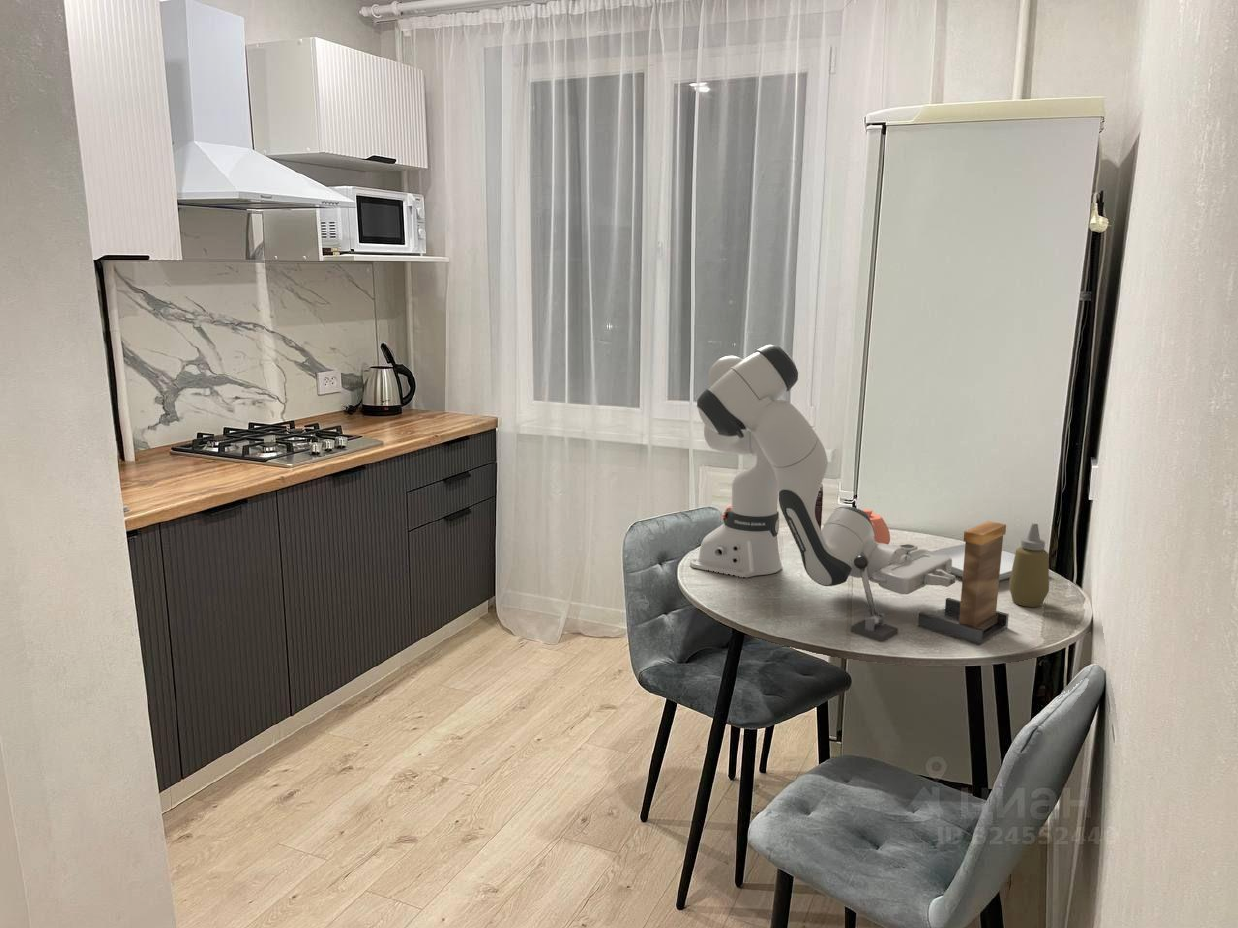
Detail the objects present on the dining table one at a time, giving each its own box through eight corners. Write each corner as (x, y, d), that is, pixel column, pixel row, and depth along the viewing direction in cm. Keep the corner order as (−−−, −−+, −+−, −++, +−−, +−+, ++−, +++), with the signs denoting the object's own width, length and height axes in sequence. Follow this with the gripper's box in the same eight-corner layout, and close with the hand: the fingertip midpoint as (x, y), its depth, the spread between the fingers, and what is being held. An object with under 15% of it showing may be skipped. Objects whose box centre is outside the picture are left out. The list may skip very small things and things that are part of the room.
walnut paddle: (955, 630, 177) (963, 531, 173) (979, 616, 184) (987, 520, 180) (974, 636, 174) (983, 535, 170) (998, 621, 181) (1007, 524, 177)
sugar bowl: (885, 541, 240) (887, 505, 238) (894, 557, 227) (897, 518, 225) (839, 540, 242) (840, 503, 240) (845, 555, 228) (847, 517, 226)
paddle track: (917, 626, 182) (918, 612, 181) (946, 610, 190) (948, 597, 190) (979, 645, 172) (980, 630, 172) (1007, 627, 181) (1008, 613, 180)
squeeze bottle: (1002, 604, 194) (1009, 524, 190) (1013, 594, 200) (1020, 517, 196) (1041, 612, 189) (1049, 531, 185) (1052, 602, 195) (1060, 523, 191)
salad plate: (913, 566, 221) (914, 552, 220) (970, 553, 231) (971, 540, 230) (985, 591, 203) (986, 577, 202) (1044, 576, 213) (1045, 562, 212)
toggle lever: (866, 627, 178) (849, 557, 179) (873, 623, 180) (857, 554, 181) (878, 626, 176) (861, 556, 177) (885, 623, 178) (869, 553, 179)
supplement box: (820, 549, 233) (823, 491, 230) (802, 548, 234) (804, 490, 231) (820, 540, 241) (822, 483, 238) (802, 539, 242) (804, 482, 239)
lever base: (850, 631, 179) (851, 614, 178) (866, 623, 183) (867, 607, 182) (881, 641, 174) (883, 624, 173) (897, 633, 178) (898, 616, 178)
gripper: (866, 562, 184) (928, 579, 174) (914, 542, 198) (975, 555, 188) (864, 591, 185) (926, 609, 176) (913, 569, 199) (973, 584, 190)
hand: (952, 581), depth 182 cm, fingers closed
